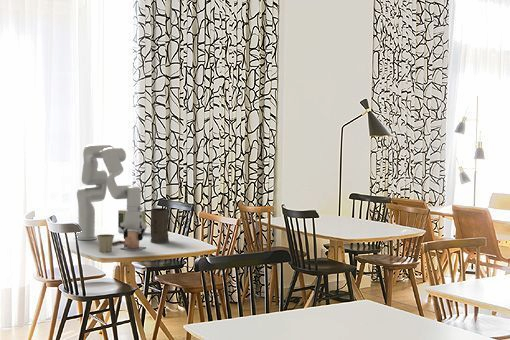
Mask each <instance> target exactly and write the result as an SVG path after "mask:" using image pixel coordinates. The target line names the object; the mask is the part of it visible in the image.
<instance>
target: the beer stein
mask: <svg viewBox="0 0 510 340" xmlns="http://www.w3.org/2000/svg"><path fill="white" fill-rule="evenodd" d="M168 211H169V210H168V208H165V207H163V208H162V207H157V208H151V209H150V243H153V244H165V243H168V242H169V241H170V240H169V230H168V225H169V212H168Z"/></svg>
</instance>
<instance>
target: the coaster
mask: <svg viewBox="0 0 510 340" xmlns="http://www.w3.org/2000/svg"><path fill="white" fill-rule="evenodd" d="M144 249H147V247H146V246H140V245H139V248H135V249H131V248H127V247H124V246H123V247H120V250H125V251H133V252H134V251H135V252H136V251H140V250H141V251H142V250H144Z"/></svg>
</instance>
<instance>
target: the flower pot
mask: <svg viewBox="0 0 510 340" xmlns="http://www.w3.org/2000/svg"><path fill="white" fill-rule="evenodd" d="M96 236H97V242H98V248H99V252H100V253H106V252H108V253H109V252H112V247H113V246H112V242H114V241H113V240H114V237H115V234H109V233H108V234H106V233H105V234H104V233H103V234H98V235H96Z"/></svg>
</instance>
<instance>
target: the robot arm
mask: <svg viewBox="0 0 510 340" xmlns="http://www.w3.org/2000/svg"><path fill="white" fill-rule="evenodd" d="M82 152H83V153H82V155H83V156H82V157H83V165H82V171H81V182H82V184H83V185H85V186H82V187H79V188H78V190H77V191H76V199H77V205H78V209H77V210H78V223H77V224H78V225H79V226H80V227H81V229H82V232H80V233H77V234H76V236H78V239H77V240H79V241H90V240H91V241H92V240H98V238H97V235H95V233H96V232H95V224H96V223H95V219H96V218H95V217H96V215H95V214H96V213H95V206H94V205H93V203H96V202H103V201H104V200H105V198H106V193H107V189H108V192H109V194H110V196H111V197H112V198H113V199H115V200H126V209H127V211H126V213H125V220H124V222H122V223H120V226H121V228H122V230H123V232H124V233H123V239H124V240H125V237H128V231H127V230H128V229H133V230H138V232H139V234H138V240H139V242H140V241H143V237H144V235H143V234H144V231H145V232H146V230H147V228H148V225H146V223H145V224H144V223H143V216H142V212H141V210H143V207H142V206H141V205H142V204H141V201H142V200H141V198H142V194H141V193H142V189H141V187H140V186H139V187H138V186H134V185H132V184H131V185H129V184H127V185H117V182H116V180H115V179H116V177H118V176H120V175H121V174H122V173H123V172H124V167H123V164H122V162H124V161H126V158H127V153H126V151H125V150H124V148H123V147H121V146H117V145H114V144H109V143H93V144H92V143H91V144H88V145H85V146H84V149H83V151H82ZM98 159H102V160H103V163H104V166H105V167H106V170H107V172H108V173H107V172H106V170H104V169H103V168H102V169H101V168H100V169H99V161H98ZM142 228H143V229H142Z"/></svg>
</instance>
